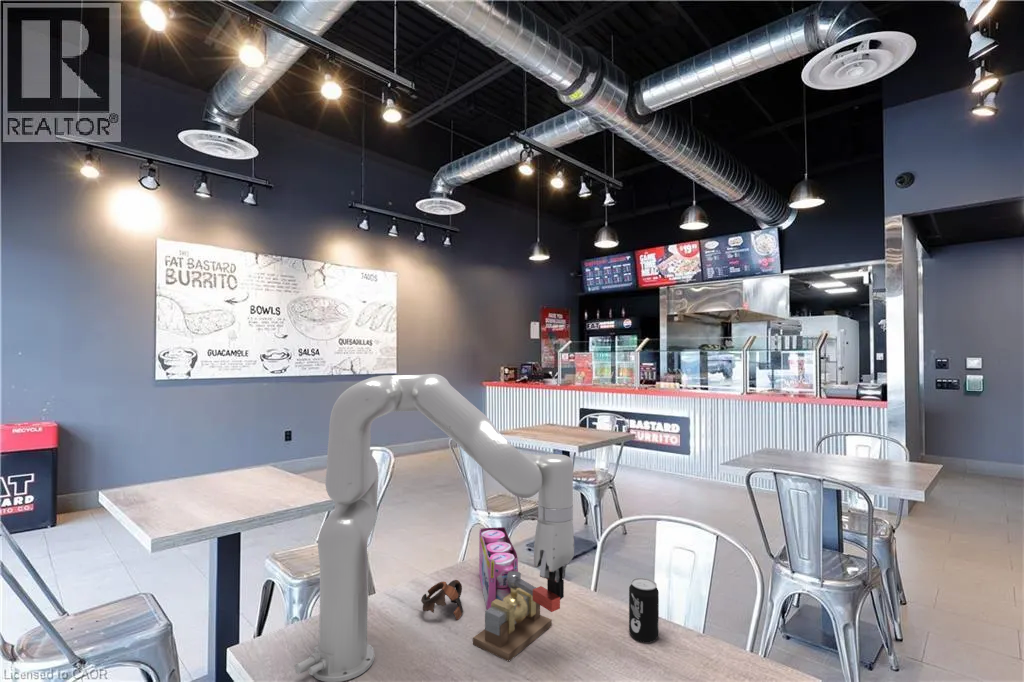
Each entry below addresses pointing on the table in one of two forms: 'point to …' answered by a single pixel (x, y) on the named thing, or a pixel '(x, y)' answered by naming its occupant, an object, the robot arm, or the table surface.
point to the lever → (535, 592)
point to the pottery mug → (450, 590)
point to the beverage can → (643, 610)
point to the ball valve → (509, 611)
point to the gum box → (495, 563)
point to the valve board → (513, 636)
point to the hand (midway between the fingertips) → (555, 597)
